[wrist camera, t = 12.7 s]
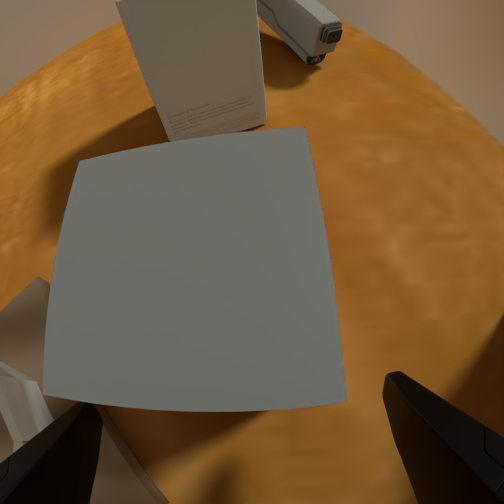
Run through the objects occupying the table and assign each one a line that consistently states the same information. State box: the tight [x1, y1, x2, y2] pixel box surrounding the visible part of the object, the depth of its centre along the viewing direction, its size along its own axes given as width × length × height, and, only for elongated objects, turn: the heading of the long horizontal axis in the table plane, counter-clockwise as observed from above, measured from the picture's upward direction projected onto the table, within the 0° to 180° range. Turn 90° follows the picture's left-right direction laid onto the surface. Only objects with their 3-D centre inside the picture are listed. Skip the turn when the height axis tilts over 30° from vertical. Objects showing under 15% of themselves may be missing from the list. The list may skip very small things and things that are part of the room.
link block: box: [43, 127, 346, 412], centre depth 11 cm, size 5×5×12 cm
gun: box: [256, 0, 343, 64], centre depth 27 cm, size 2×25×10 cm, turn 28°
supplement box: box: [115, 0, 267, 142], centre depth 18 cm, size 7×7×13 cm
